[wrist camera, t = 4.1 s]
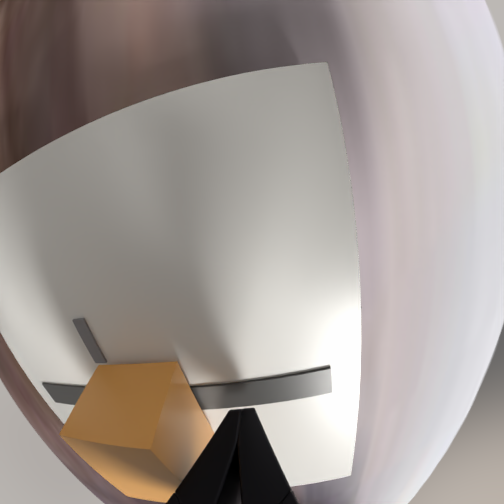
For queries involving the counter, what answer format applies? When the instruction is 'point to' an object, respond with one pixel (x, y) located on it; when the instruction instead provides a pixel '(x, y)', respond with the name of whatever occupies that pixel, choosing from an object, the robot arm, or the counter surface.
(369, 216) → the counter surface
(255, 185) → the fader console
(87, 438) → the fader knob
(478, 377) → the counter surface
